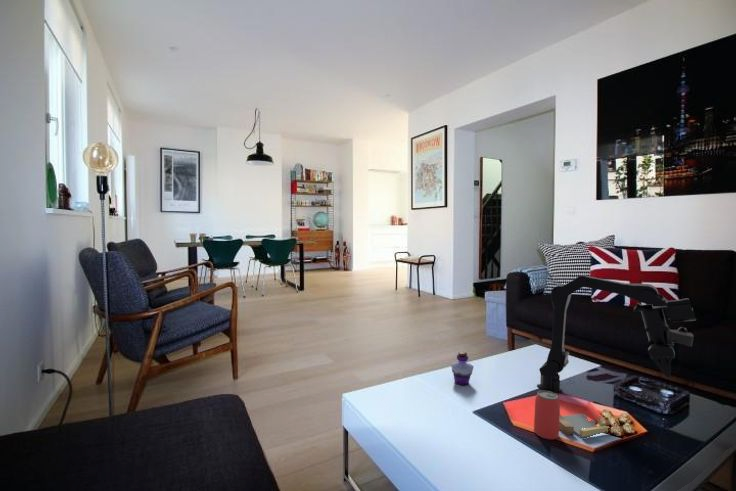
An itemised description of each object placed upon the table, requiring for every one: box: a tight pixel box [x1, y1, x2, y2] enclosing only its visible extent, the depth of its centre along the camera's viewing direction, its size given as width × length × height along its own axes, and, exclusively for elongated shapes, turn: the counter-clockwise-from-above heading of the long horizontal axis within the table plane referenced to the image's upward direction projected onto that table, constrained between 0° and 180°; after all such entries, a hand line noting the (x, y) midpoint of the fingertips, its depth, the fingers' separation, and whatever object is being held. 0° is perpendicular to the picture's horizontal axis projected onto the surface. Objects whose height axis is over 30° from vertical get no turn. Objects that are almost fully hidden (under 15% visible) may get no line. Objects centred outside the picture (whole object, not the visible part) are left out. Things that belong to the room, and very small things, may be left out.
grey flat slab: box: [561, 413, 610, 439], centre depth 114 cm, size 11×11×2 cm
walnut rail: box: [559, 414, 575, 436], centre depth 115 cm, size 12×2×2 cm, turn 4°
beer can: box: [533, 390, 561, 440], centre depth 109 cm, size 7×7×12 cm
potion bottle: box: [450, 351, 474, 387], centre depth 144 cm, size 9×9×12 cm
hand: (668, 372), depth 118 cm, fingers open, 9 cm apart
